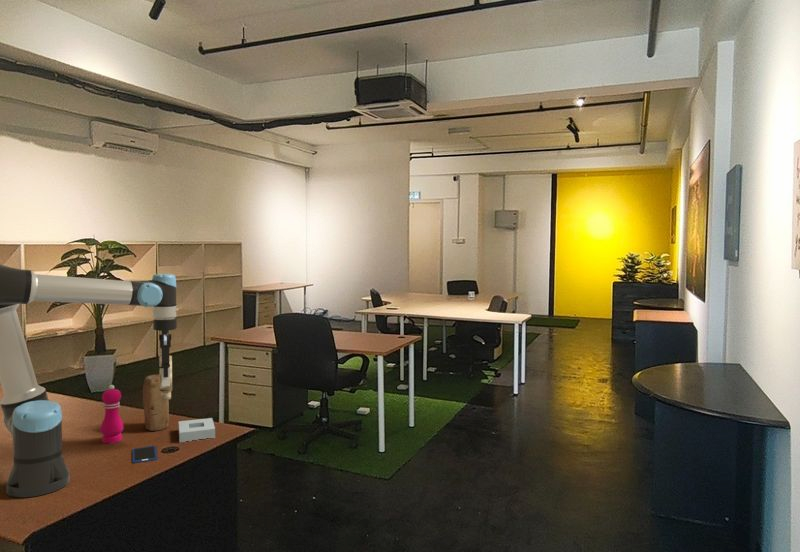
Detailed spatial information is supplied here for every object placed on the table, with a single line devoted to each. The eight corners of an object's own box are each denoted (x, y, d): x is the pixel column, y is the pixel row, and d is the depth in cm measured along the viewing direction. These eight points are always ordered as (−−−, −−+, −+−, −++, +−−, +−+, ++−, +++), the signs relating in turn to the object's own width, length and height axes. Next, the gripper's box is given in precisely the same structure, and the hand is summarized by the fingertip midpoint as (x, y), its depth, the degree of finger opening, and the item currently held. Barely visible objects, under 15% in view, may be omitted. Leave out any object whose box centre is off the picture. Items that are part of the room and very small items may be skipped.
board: (179, 442, 194) (179, 432, 194) (178, 430, 207) (178, 421, 207) (215, 438, 199) (215, 428, 199) (212, 426, 212) (212, 417, 212)
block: (170, 429, 209) (169, 377, 208) (149, 433, 204) (148, 379, 203) (161, 422, 217) (161, 372, 216) (141, 425, 212) (140, 374, 211)
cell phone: (132, 464, 175) (132, 462, 175) (132, 450, 187) (132, 448, 187) (157, 461, 178) (157, 458, 178) (155, 447, 191) (155, 445, 191)
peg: (159, 400, 191) (159, 357, 190) (159, 397, 194) (159, 355, 194) (172, 399, 192) (172, 357, 191) (172, 396, 196) (171, 355, 195)
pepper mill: (113, 444, 192) (113, 387, 191) (95, 443, 193) (95, 386, 192) (128, 437, 199) (127, 383, 198) (110, 436, 200) (109, 381, 199)
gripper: (177, 320, 186) (177, 389, 187) (176, 315, 201) (176, 378, 202) (152, 321, 183) (153, 391, 184) (153, 315, 198) (154, 380, 199)
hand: (165, 384), depth 193 cm, fingers closed on peg, 4 cm apart
